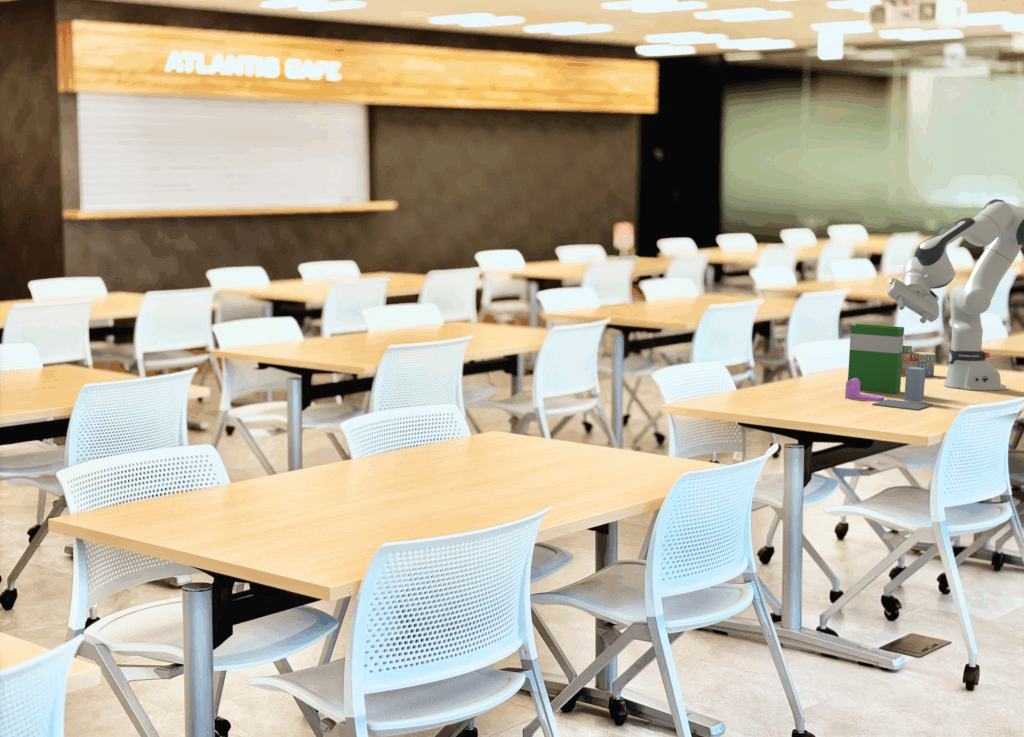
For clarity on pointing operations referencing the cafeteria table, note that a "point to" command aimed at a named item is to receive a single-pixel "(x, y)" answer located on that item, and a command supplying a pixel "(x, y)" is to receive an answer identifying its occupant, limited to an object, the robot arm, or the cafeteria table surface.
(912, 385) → the slate block
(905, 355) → the stack of blocks
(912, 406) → the mat
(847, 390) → the bracket
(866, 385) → the hardback book
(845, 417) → the cafeteria table surface
